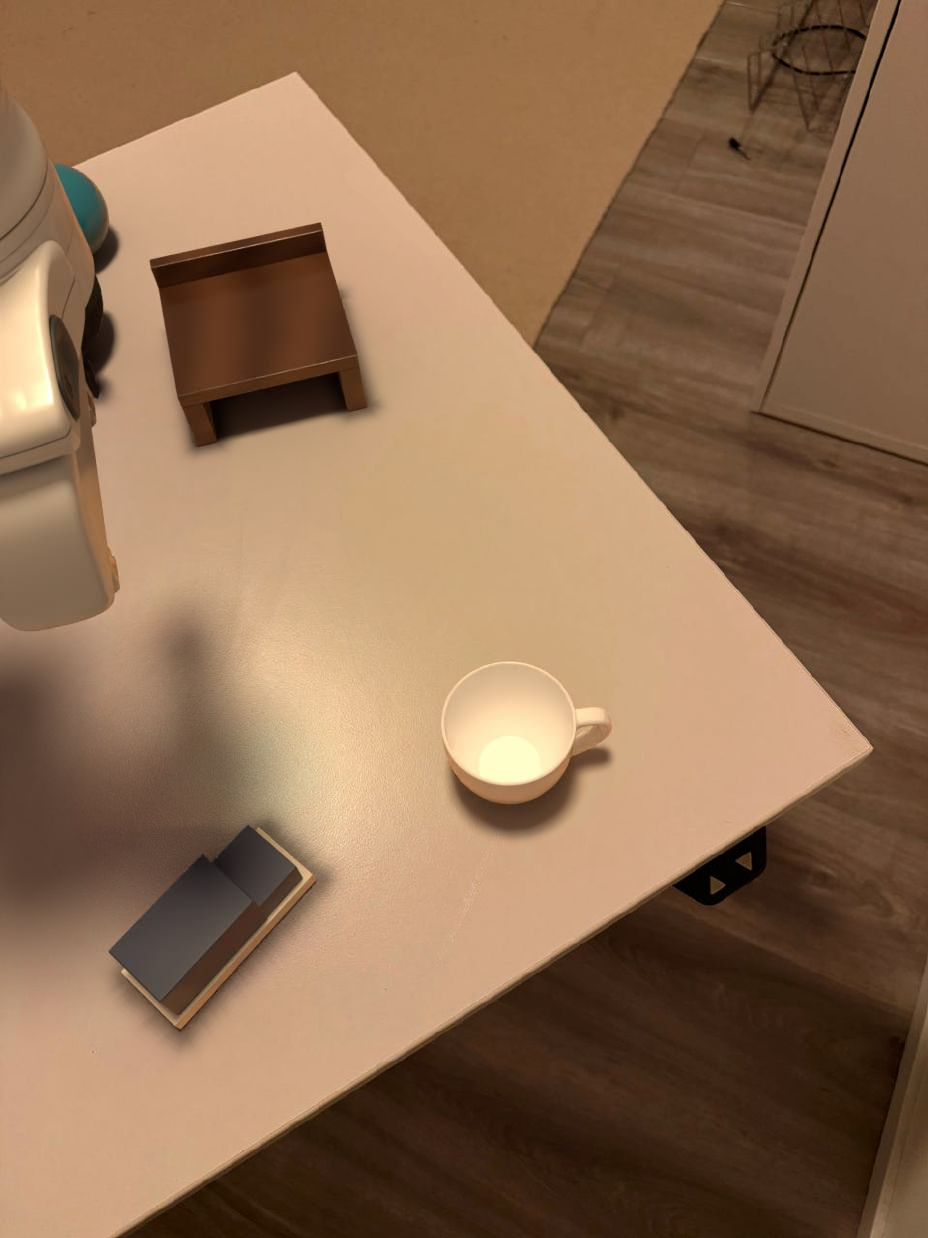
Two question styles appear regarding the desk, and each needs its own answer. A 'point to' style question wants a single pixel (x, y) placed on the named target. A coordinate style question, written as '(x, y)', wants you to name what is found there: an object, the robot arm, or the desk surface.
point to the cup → (515, 731)
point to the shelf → (254, 320)
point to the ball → (85, 204)
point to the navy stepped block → (210, 923)
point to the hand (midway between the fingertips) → (89, 497)
